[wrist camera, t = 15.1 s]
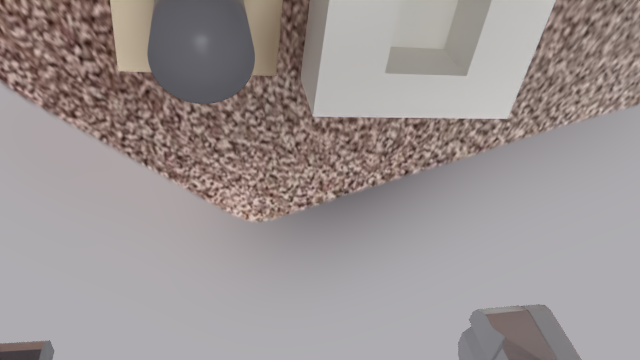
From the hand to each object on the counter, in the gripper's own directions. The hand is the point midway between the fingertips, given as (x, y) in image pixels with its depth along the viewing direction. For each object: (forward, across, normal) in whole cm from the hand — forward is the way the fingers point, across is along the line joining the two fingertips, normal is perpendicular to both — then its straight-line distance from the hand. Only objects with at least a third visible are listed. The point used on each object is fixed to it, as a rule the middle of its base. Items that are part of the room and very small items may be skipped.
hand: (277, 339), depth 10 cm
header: (+27, -12, +3) cm, 30 cm away
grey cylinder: (+26, +2, +3) cm, 26 cm away
